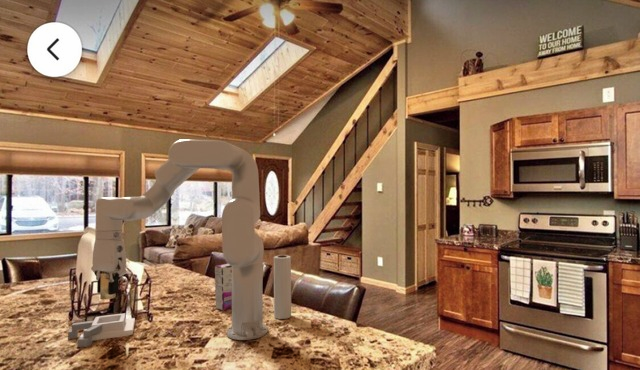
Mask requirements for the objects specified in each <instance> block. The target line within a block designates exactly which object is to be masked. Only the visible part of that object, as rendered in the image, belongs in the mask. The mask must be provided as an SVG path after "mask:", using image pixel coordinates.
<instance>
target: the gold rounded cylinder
mask: <svg viewBox="0 0 640 370" xmlns="http://www.w3.org/2000/svg"><path fill="white" fill-rule="evenodd" d="M113 274H114V276H115V274H116V273H113ZM99 277H101V284H100V293H99V296H100V297H99V299H100V300H104V301H105V300H111V299H112V300H113V299H115V298H116V293H115V294H112V295H109V294H108V287H109V282H110V275H109V272H102V273H100V274H99Z"/></svg>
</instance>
